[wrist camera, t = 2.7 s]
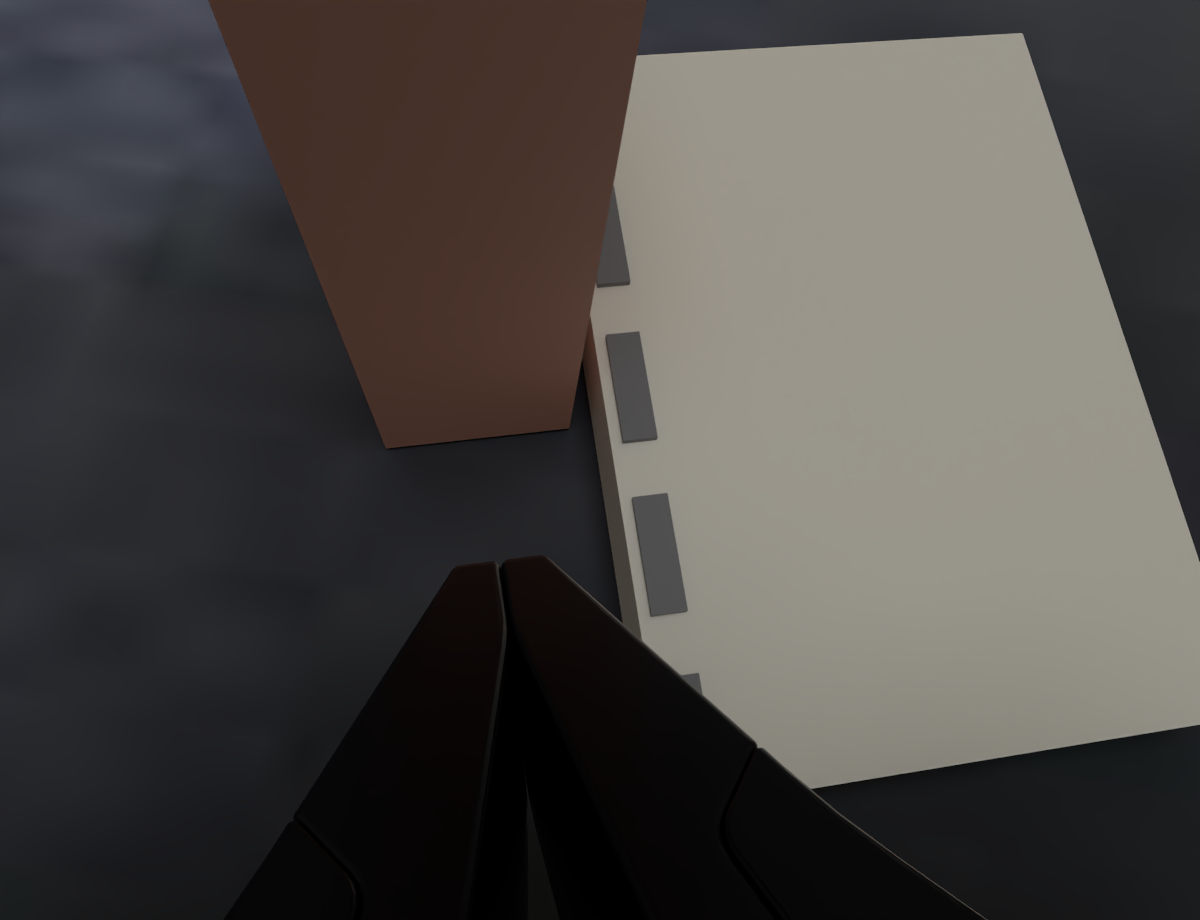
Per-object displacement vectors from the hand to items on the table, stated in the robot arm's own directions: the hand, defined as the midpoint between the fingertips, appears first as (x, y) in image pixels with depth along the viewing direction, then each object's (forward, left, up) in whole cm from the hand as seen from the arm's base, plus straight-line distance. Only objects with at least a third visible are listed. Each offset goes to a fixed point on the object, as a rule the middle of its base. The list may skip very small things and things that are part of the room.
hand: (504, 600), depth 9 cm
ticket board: (+8, -1, -9) cm, 12 cm away
